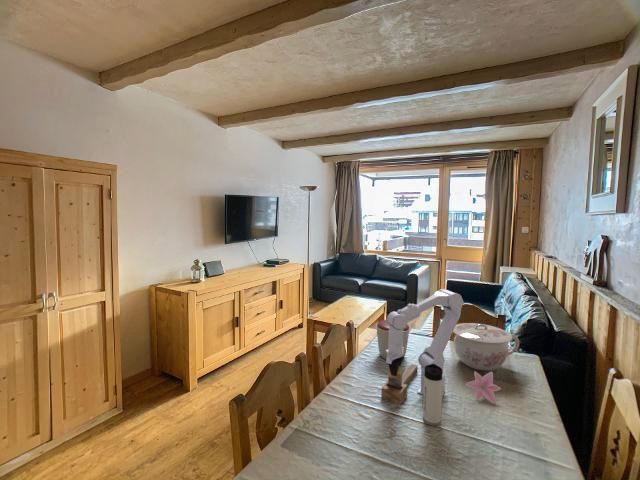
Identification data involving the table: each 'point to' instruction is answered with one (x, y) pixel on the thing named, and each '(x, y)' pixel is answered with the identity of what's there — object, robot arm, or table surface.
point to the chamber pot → (483, 345)
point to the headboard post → (399, 393)
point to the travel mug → (432, 395)
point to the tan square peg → (395, 377)
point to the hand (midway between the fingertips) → (394, 374)
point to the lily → (484, 386)
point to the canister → (384, 337)
